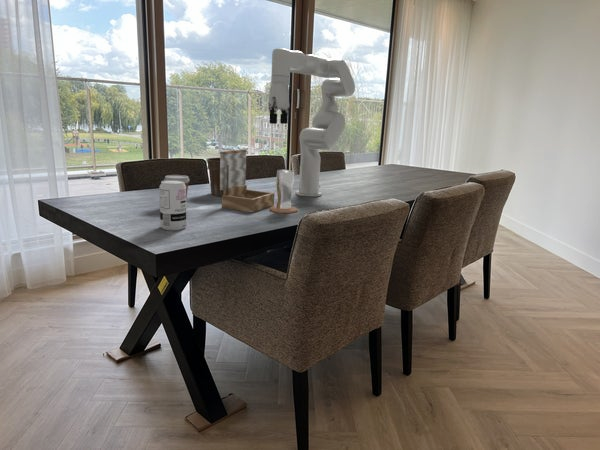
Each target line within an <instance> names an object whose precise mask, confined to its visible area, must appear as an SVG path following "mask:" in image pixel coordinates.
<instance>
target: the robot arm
mask: <svg viewBox="0 0 600 450" xmlns="http://www.w3.org/2000/svg"><path fill="white" fill-rule="evenodd" d="M271 53H272V54H271V75H270V77H271V78H270V79H271V80H270V86H269V87H270V88H269V93H268V102H267V104H268V105H267V106H268V111H269V113H268V114H269V122H268V123H269V124H272V125H273V124H274V125H276V124H278V110H280V112H281V113H280V119H279V120H280V121H279V123H280V124H282V125H283V124H285V125H287V124H288V123H289V122H288V121H289V120H288V118H289V110H290V106H291V105H290V104H291V103H290V102H289V101H290V94H289V93H290V92H289V91H290V89H289V86H290V81H291V80H290V78H291V76H290V75H291V73H293V74H294V73H295V74H300V75H301V74H302V75H306V76H314V77H319V78H323V79H324V78H325V79H324V80H323V81H322V83H321V87H320V90H321V98H322V99H321V100H322V101H321V102H322V103H321V105H320V107H319V108H318V110H317V112H316V113H315V115H314V117H313V119H312V120H311V121H312V122H311V126H312V127H306V128H303V129H302V130H301V131H300V133H299V146H300V164H299V165H300V166H299V178H298V179H299V181H298V183H299V184H298V190H295V195H297V196H301V197H310V198H312V197H313V198H315V197H321V196H322V195H323V194H322V192H321V191H319V190H320V189H321V185H320V176H321V175H320V173H321V162H322V160H321V159H322V158H321V155H320V152H319V150H323V151H330V150H332V149H333V148H334V147H335V146H336V144H337V142H338V140H339V139H340V137H341V135H342V134H343V132H344V130H345V126H346V117H345V115H344V114H343V113H341V112H338V111H339V105H338V102H337V101H336V98H335V97H338V98H339V97H341V98H348V97H352V96H353V95H354V93H355V90H356V85H355V81H354V78H353V76H352V74H351V70H350V69H349V66H348V64H347V62H346V61H345V60H344V59H343V58H339V57H338V58H326V57H322V56H319V55H316V54H315V55H314V54H305V53H304V52H302V51H300V50H290V49H287V48H280V47H279V48H274V49H273V50H272V52H271Z"/></svg>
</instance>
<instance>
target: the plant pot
mask: <svg viewBox="0 0 600 450" xmlns="http://www.w3.org/2000/svg"><path fill="white" fill-rule="evenodd" d="M206 162H207V163H206V164H207V169H208V172H209V181H210V182H209V183H210V185H209V186H210V194H211V195H212V196H216V197H222V195H223V192H224V190H225V189H224V190H220V157H208V158H206ZM237 187H238V186H237ZM233 188H234V187H233Z"/></svg>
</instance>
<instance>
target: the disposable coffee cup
mask: <svg viewBox="0 0 600 450" xmlns="http://www.w3.org/2000/svg"><path fill="white" fill-rule="evenodd" d="M166 180H178V181H183V182H184V184H185V185H186V200H187V197H188V189H189V183H190V178H189V176H188V175H181V174H168V175H165V177H164V179H163V181H166Z"/></svg>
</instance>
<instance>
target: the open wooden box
mask: <svg viewBox="0 0 600 450" xmlns="http://www.w3.org/2000/svg"><path fill="white" fill-rule="evenodd" d="M247 152H248V151H247V149H244V148H243V149H242V148H241V149H233V150H222V151H219V158H220V190H224V189H225V190H224V192H223V195H222V196H221V208H223V209H229V210H234V211H235V210H236V211H242V212H247V213H248V212H249V213H254V212H257V211H260V210H263V209H266V208H268V207H269V208H270V207H272V206H275V192H268V191H262V190H255V189H254V190H253V189H247V186H248V185H247V184H246V183H247V182H246V181H247V180H246V178H247V175H246V174H247V173H246V172H247ZM237 186H238V187H237ZM233 187H234V188H233Z"/></svg>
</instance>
